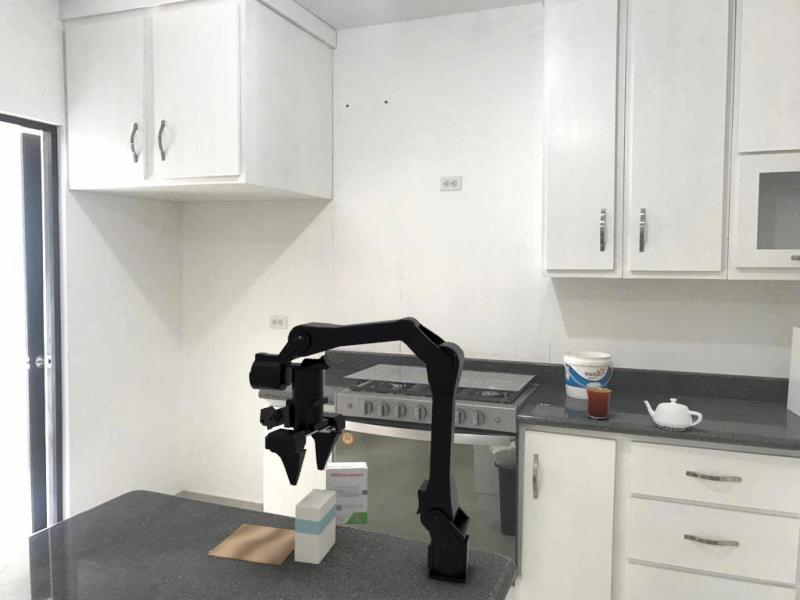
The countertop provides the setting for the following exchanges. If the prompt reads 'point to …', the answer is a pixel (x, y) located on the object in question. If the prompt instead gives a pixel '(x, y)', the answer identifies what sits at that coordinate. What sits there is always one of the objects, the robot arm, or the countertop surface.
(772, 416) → the countertop surface
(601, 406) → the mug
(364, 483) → the ink box
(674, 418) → the teapot
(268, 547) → the board
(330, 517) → the carton
